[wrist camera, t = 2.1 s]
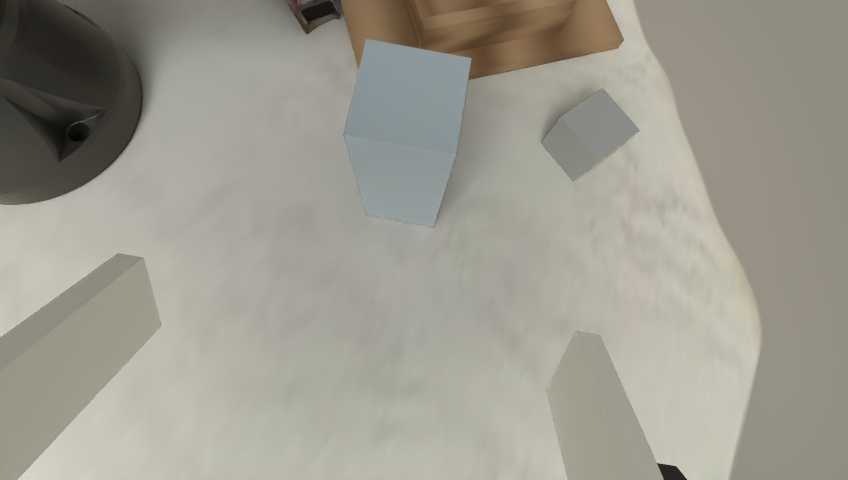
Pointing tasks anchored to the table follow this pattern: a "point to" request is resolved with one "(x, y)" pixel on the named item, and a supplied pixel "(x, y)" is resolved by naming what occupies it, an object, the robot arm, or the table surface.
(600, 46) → the tray
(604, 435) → the robot arm
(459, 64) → the block
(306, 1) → the pink elongated piece
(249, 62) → the table surface
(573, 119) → the grey block
